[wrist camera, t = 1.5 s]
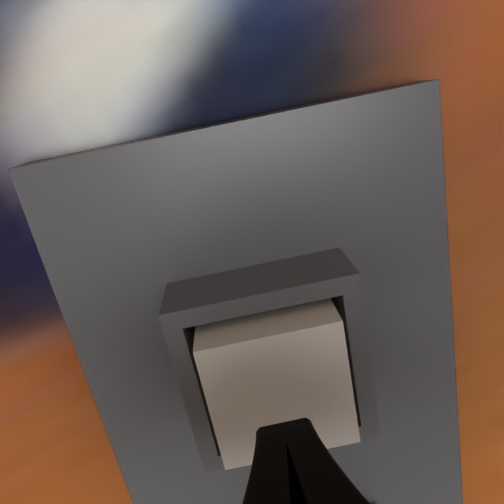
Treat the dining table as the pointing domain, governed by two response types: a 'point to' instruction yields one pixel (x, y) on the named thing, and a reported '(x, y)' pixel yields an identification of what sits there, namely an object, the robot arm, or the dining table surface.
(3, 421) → the dining table surface
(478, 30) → the dining table surface
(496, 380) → the dining table surface
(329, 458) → the robot arm
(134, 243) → the grey key base
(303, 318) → the white key
